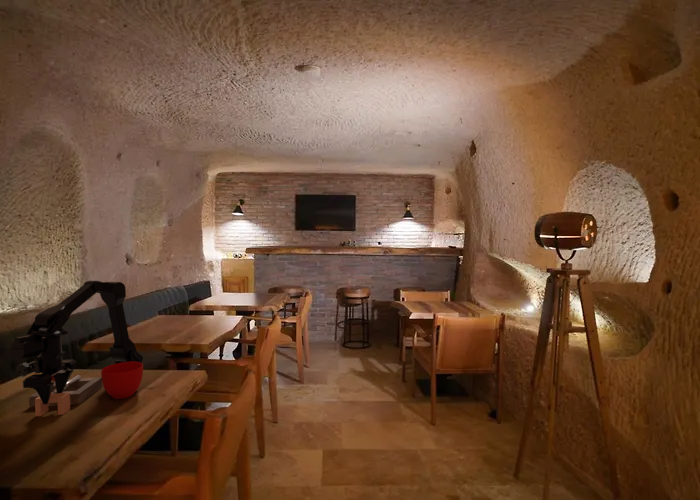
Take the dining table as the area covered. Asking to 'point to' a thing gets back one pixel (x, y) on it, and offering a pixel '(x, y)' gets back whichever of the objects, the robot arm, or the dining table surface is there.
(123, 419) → the dining table surface
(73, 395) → the grey flat frame
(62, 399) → the orange arch block
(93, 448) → the dining table surface
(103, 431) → the dining table surface
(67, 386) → the hook rod
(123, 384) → the red bowl
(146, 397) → the dining table surface
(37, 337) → the robot arm
